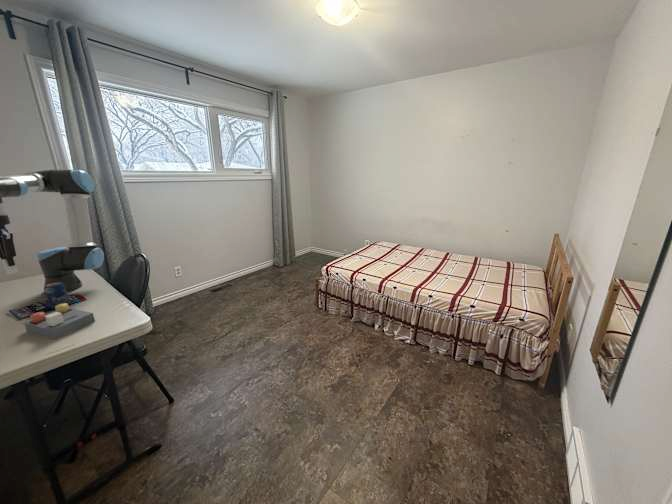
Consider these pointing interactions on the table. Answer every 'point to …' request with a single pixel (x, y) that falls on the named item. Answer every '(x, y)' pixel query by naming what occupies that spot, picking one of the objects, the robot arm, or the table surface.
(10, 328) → the table surface
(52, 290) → the soda can
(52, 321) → the slider
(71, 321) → the panel
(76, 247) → the robot arm
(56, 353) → the table surface
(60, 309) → the button ochre
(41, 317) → the button red
